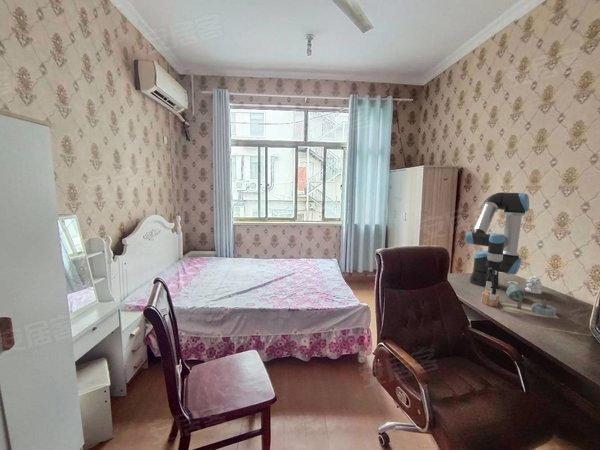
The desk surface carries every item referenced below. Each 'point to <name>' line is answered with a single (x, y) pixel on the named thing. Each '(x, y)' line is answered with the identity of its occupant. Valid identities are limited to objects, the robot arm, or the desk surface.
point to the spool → (515, 292)
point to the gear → (543, 309)
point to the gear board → (524, 308)
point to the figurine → (534, 285)
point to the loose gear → (487, 300)
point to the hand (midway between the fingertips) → (490, 295)
